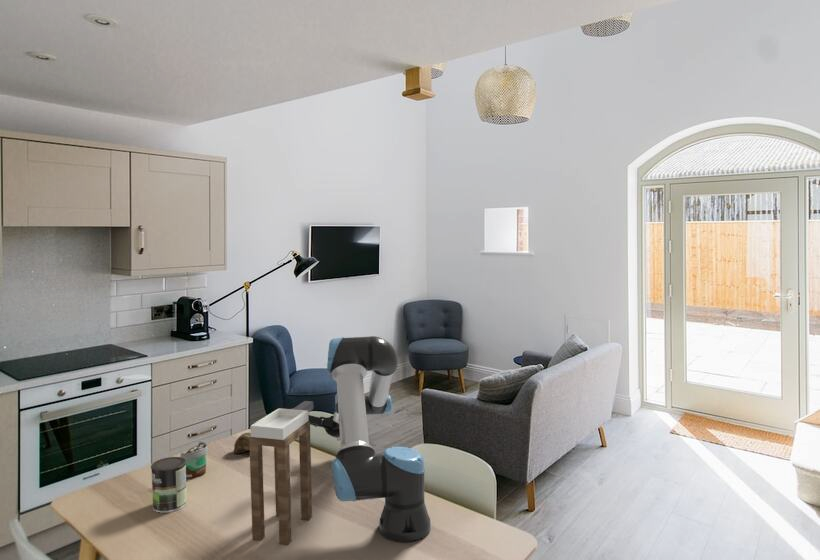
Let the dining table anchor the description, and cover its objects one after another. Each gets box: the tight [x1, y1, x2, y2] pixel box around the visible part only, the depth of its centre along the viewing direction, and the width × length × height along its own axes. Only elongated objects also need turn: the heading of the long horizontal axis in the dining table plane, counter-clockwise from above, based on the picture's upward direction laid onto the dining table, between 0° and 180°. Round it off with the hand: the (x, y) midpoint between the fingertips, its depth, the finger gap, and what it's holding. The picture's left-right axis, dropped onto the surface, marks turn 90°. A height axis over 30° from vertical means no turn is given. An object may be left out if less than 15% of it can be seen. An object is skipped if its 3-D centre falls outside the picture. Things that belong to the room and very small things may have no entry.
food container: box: [179, 441, 209, 480], centre depth 195 cm, size 12×6×10 cm, turn 168°
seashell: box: [233, 431, 251, 454], centre depth 216 cm, size 11×9×8 cm
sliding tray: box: [250, 400, 314, 440], centre depth 161 cm, size 27×10×3 cm, turn 165°
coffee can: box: [150, 456, 188, 514], centre depth 172 cm, size 10×10×14 cm
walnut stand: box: [249, 422, 313, 546], centre depth 157 cm, size 16×11×30 cm
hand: (315, 414), depth 180 cm, fingers open, 13 cm apart
